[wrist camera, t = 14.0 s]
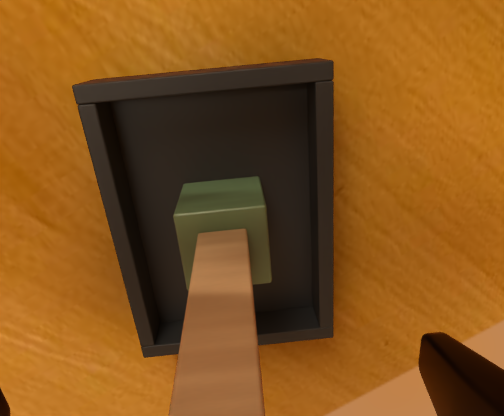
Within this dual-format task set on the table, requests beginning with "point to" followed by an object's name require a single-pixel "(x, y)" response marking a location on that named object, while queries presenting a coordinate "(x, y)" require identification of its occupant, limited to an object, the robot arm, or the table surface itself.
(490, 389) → the robot arm
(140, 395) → the table surface
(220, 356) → the scrub brush
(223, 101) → the tray
